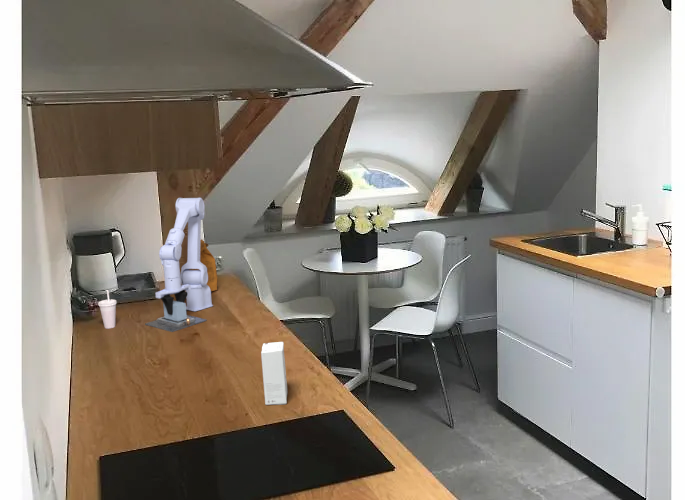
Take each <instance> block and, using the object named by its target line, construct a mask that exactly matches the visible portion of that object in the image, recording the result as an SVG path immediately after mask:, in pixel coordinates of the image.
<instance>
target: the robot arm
mask: <svg viewBox="0 0 685 500" xmlns="http://www.w3.org/2000/svg"><path fill="white" fill-rule="evenodd" d="M174 206H175V211H176V218H175V221H174V222H175V223H174V225H173V228H171V229H169V232H168V234H167V238H166V239H165V242H164V244H163V245H162V246H161V247H160V248H159V254H158V255H159V260H160V261H161V266H163V277H164V279H163V280H164V289H162V290H159V291H156V292H155V298H156V299H160V300H161V301H162V303H164V305H165V307H166V309H167V312H168V314H170V315H172V314H173V300H174V298H175V301H178V302H183V303H185V301H186V311H191V312H197V311H201V310H205V309H207V308H211V307H213V306H214V304H213V303H212V302H213V301H212V291H211V290H210V287H209V286H208V285H207V282H208V273H207V267H206V266H205V265H204V264H202V263H201V262H200V240H201V239H202V238H201V235H202V234H201V232H202V231H201V229H202V228H201V227H202V220H204V219H205V207H206V206H205V201H204V199H203V198H202V197H184V198H183V197H178V198H177V199H176V201H175V205H174ZM186 226H187V261H186V263H184V264H183V265H182V266H181V268H180V260H181V257H182V249H183V248H182V244H183V241H184V238H185V232H184V230H185V228H186ZM180 269H181V270H180ZM193 269H199V270H193ZM172 295H174V297H173V296H172Z"/></svg>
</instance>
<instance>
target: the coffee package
mask: <svg viewBox="0 0 685 500" xmlns="http://www.w3.org/2000/svg"><path fill="white" fill-rule="evenodd" d="M208 247H209V244H208V243H206V242H205V241H204V239H202V238H201V240H200V262H201V263H202V264H204V265H205V266H206V267H207V273H208V282H207V285H208V286H209V287H210V290H211V292H215V291H218V274H217V273H218V272H217V264H216V259H215V257H214V255H213V254H212V253H211V252H210V250H209V249H208ZM192 270H199V269H192Z"/></svg>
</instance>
